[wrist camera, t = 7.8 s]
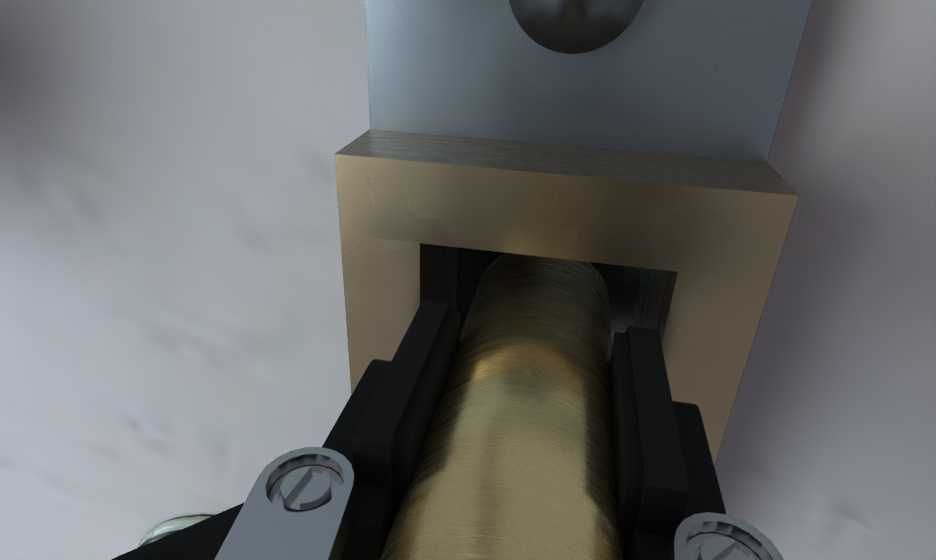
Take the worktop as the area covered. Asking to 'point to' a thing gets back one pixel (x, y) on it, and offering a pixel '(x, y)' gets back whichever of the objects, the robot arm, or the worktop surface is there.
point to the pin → (521, 426)
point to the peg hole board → (575, 164)
